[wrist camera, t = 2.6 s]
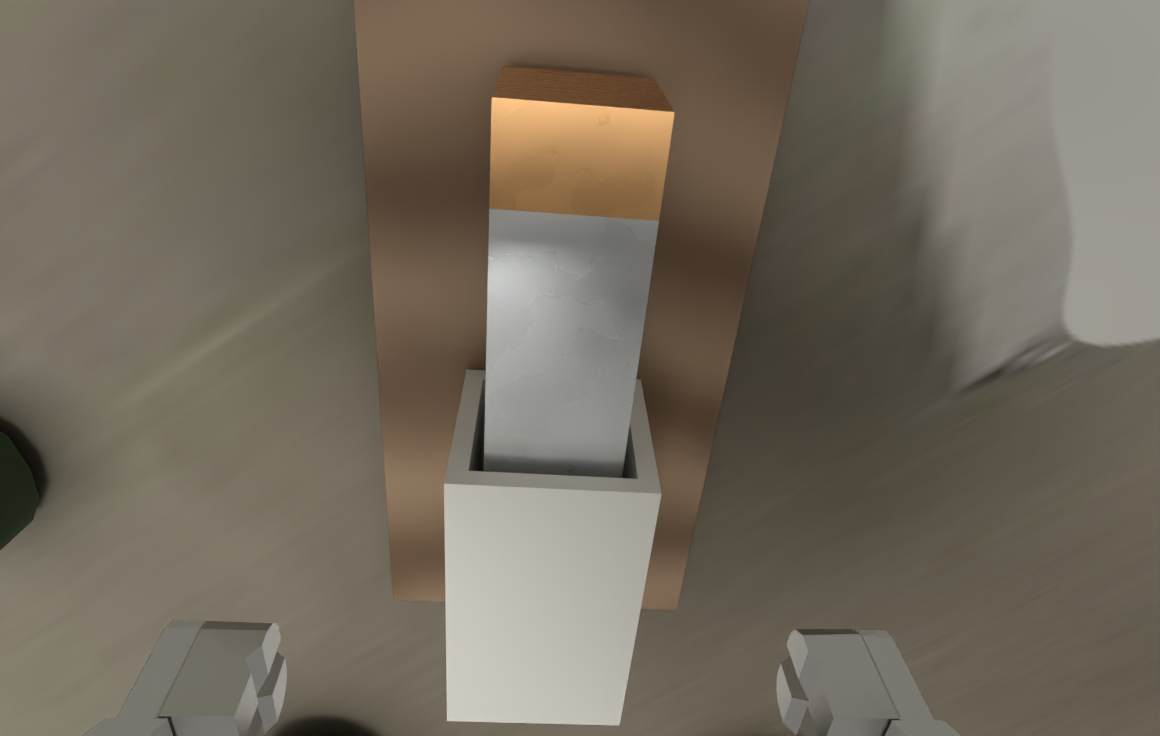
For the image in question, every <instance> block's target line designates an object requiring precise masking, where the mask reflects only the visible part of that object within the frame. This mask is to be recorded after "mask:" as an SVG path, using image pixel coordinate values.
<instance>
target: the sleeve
mask: <svg viewBox="0 0 1160 736" xmlns="http://www.w3.org/2000/svg"><path fill="white" fill-rule="evenodd" d="M485 385H486V371H485V370H468V369H467V370H466V375H465V380H464V385H463V390H462V395H461V400H460V405H459V410H458V415H457V421H456V426H455V431H454V436H453V441H452V446H451V451H450V456H449V461H448V466H447V471H446V476H445V481H444V527H445V600H446V672H447V721H469V722H507V723H546V724H584V725H620V720H621V714H622V709H623V703H624V698H625V692H626V687H627V681H628V676H629V670H630V665H631V659H632V654H633V648H634V643H635V637H636V632H637V626H638V621H639V615H640V610H641V604H642V599H643V593H644V588H645V582H646V577H647V571H648V566H649V560H650V555H651V549H652V544H653V538H654V533H655V527H656V522H657V516H658V511H659V505H660V500H661V494H662V493H661V488H660V482H659V477H658V471H657V466H656V460H655V455H654V449H653V444H652V438H651V433H650V427H649V422H648V417H647V411H646V406H645V400H644V395H643V389H642V384H641V379H636V384H635V391H634V398H633V404H632V411H631V418H630V425H629V432H628V439H627V446H626V453H625V460H624V467H623V474H622V478H609V477H588V476H567V475H546V474H525V473H505V472H484V432H485Z"/></svg>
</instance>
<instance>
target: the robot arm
mask: <svg viewBox="0 0 1160 736" xmlns="http://www.w3.org/2000/svg"><path fill="white" fill-rule="evenodd" d="M280 640H281V636H280V632H279V628H278V624H272V623H247V622H221V621H185V620H173V621H172V622H171V623H170V624H169V625H168V626H167V627H166V628H165V629H164V630H163V632H162V634H161V636H160V638H159V639H158V641H157V643H156V645H155V647H154V649H153V651H152V653H151V654H150V656H149V658H148V660H147V662H146V664H145V666H144V668H143V669H142V671H141V673H140V675H139V677H138V679H137V681H136V683H135V684H134V686H133V688H132V690H131V692H130V694H129V696H128V697H127V699H126V701H125V703H124V705H123V707H122V709H121V711H120V712H119V714H118V716H117V718H105V719H104V720H103V721H102V722H100V723H99V724H98V725H96V726H95V727H94V728H92V729H91V730H90V731H88V732H87V733H86V734H85V735H83V736H265V733H266V732H267V731H268V730H269V729H270V728H271V727H272V726H273V725H274V724H275V723H277V722H278V719H279V715H280V712H281V709H282V706H283V702H284V695H285V689H286V683H287V669H286V663H285V658H284V657H283V656H282V655H280V654H279V653H278V652H277V649H278V646H279V643H280ZM787 647H788V650H789V653H790V656H789V657H788V658H786V659H785V660H784V661H782V662H781V663H780V667H779V671H778V674H777V699H778V705H779V710H780V713H781V717H782V720H783V723H784V724H785V725H786V726H787V727H788V728H789V729H790V730H791V731H792V732H793V733H794V734H795V735H796V736H961V735H960V734H959V733H958V732H957V731H955V730H954V729H953V728H952V727H951V726H949V725H948V724H947V723H946V722H944V721H940V720H934V719H933V717H932V715H931V713H930V711H929V709H928V707H927V705H926V703H925V701H924V699H923V697H922V695H921V693H920V691H919V689H918V687H917V685H916V683H915V681H914V679H913V677H912V675H911V673H910V671H909V669H908V667H907V665H906V663H905V662H904V660H903V658H902V656H901V654H900V652H899V650H898V648H897V646H896V644H895V642H894V640H893V638H892V636H891V635H890V634H889V633H888V632H887V631H886V630H852V629H795V630H794V631H793V632H792V633H791V634H790V636H789V639H788V642H787Z"/></svg>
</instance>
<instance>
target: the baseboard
mask: <svg viewBox="0 0 1160 736" xmlns="http://www.w3.org/2000/svg"><path fill="white" fill-rule="evenodd" d="M809 1H810V0H354V14H355V29H356V44H357V59H358V75H359V90H360V105H361V120H362V135H363V150H364V166H365V181H366V196H367V211H368V226H369V241H370V257H371V272H372V287H373V302H374V317H375V332H376V347H377V363H378V378H379V393H380V408H381V423H382V438H383V454H384V469H385V484H386V499H387V514H388V529H389V545H390V560H391V575H392V590H393V600H413V601H440V602H446V600H445V527H444V481H445V476H446V471H447V466H448V461H449V456H450V451H451V446H452V441H453V436H454V431H455V426H456V421H457V415H458V410H459V405H460V400H461V395H462V390H463V385H464V380H465V375H466V370H467V369H468V370H485V371H486V338H487V291H488V245H489V198H490V152H491V105H492V95H493V92H494V89H495V87H496V84H497V81H498V78H499V76H500V73H501V70H502V67H503V66H512V67H524V68H536V69H548V70H560V71H572V72H583V73H595V74H607V75H619V76H631V77H643V78H654V79H655V81H656V82H657V84H658V85H659V87H660V89H661V90H662V92H663V94H664V95H665V97H666V99H667V100H668V102H669V103H670V105H671V107H672V108H673V110H674V112H675V113H674V120H673V127H672V134H671V141H670V148H669V155H668V162H667V169H666V176H665V183H664V190H663V197H662V204H661V210H660V217H659V224H658V231H657V238H656V245H655V252H654V259H653V266H652V273H651V280H650V287H649V294H648V301H647V307H646V314H645V321H644V328H643V335H642V342H641V349H640V356H639V363H638V370H637V377H636V379H641V384H642V389H643V395H644V400H645V406H646V411H647V417H648V422H649V427H650V433H651V438H652V444H653V449H654V455H655V460H656V466H657V471H658V477H659V482H660V488H661V493H662V494H661V500H660V505H659V511H658V516H657V522H656V527H655V533H654V538H653V544H652V549H651V555H650V560H649V566H648V571H647V577H646V582H645V588H644V593H643V599H642V604H641V609H660V610H677V605H678V601H679V596H680V591H681V587H682V582H683V578H684V573H685V569H686V564H687V559H688V555H689V550H690V546H691V541H692V536H693V532H694V527H695V523H696V518H697V514H698V509H699V504H700V500H701V495H702V491H703V486H704V482H705V477H706V472H707V468H708V463H709V459H710V454H711V449H712V445H713V440H714V436H715V431H716V427H717V422H718V417H719V413H720V408H721V404H722V399H723V395H724V390H725V385H726V381H727V376H728V372H729V367H730V362H731V358H732V353H733V349H734V344H735V340H736V335H737V330H738V326H739V321H740V317H741V312H742V308H743V303H744V298H745V294H746V289H747V285H748V280H749V275H750V271H751V266H752V262H753V257H754V253H755V248H756V243H757V239H758V234H759V230H760V225H761V221H762V216H763V211H764V207H765V202H766V198H767V193H768V188H769V184H770V179H771V175H772V170H773V166H774V161H775V156H776V152H777V147H778V143H779V138H780V134H781V129H782V124H783V120H784V115H785V111H786V106H787V101H788V97H789V92H790V88H791V83H792V79H793V74H794V69H795V65H796V60H797V56H798V51H799V47H800V42H801V37H802V33H803V28H804V24H805V19H806V14H807V10H808V5H809Z"/></svg>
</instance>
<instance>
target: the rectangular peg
mask: <svg viewBox="0 0 1160 736" xmlns="http://www.w3.org/2000/svg"><path fill="white" fill-rule="evenodd" d="M674 113H675V112H674V110H673V108H672V107H671V105H670V103H669V102H668V100H667V99H666V97H665V95H664V94H663V92H662V90H661V89H660V87H659V85H658V84H657V82H656V81H655V79H654V78H643V77H631V76H619V75H607V74H595V73H583V72H572V71H560V70H548V69H536V68H524V67H512V66H503V67H502V70H501V73H500V76H499V78H498V81H497V84H496V87H495V89H494V92H493V95H492V105H491V152H490V198H489V245H488V291H487V338H486V385H485V432H484V472H505V473H525V474H546V475H567V476H588V477H609V478H622V474H623V467H624V460H625V453H626V446H627V439H628V432H629V425H630V418H631V411H632V404H633V398H634V391H635V384H636V377H637V370H638V363H639V356H640V349H641V342H642V335H643V328H644V321H645V314H646V307H647V301H648V294H649V287H650V280H651V273H652V266H653V259H654V252H655V245H656V238H657V231H658V224H659V217H660V210H661V204H662V197H663V190H664V183H665V176H666V169H667V162H668V155H669V148H670V141H671V134H672V127H673V120H674Z"/></svg>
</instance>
